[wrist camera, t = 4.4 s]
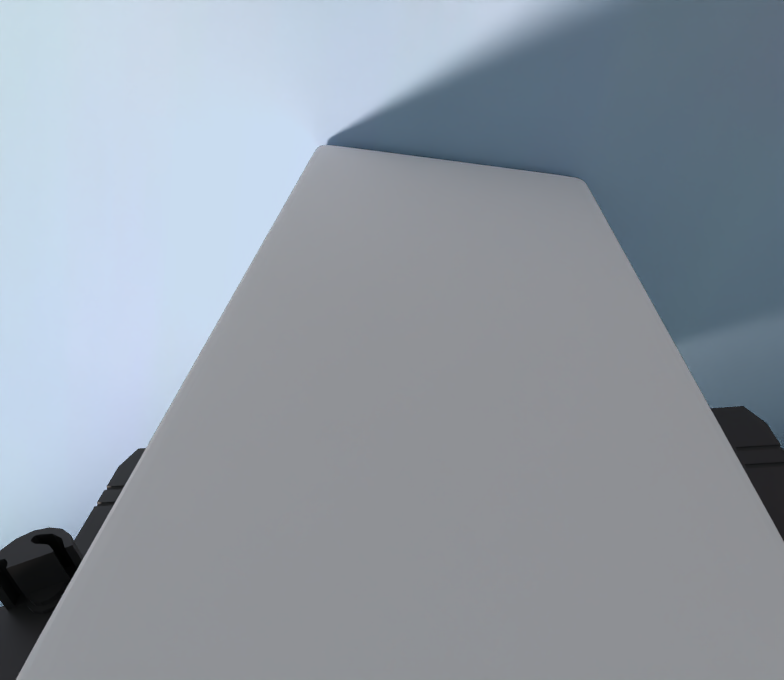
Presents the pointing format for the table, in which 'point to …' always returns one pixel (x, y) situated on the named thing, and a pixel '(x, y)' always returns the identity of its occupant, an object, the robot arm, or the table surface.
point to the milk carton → (431, 462)
